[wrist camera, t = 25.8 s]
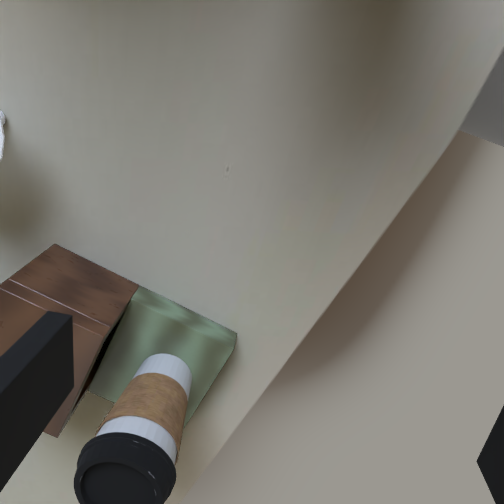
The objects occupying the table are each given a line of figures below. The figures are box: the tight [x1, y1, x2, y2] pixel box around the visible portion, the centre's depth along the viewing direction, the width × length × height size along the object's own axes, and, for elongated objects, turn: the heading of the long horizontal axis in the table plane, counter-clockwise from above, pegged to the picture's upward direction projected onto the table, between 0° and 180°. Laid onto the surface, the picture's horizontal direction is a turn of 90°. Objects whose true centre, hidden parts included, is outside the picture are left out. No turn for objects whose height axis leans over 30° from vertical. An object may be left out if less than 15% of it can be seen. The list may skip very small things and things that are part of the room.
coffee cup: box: [74, 354, 192, 504], centre depth 42 cm, size 8×8×15 cm
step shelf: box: [0, 244, 237, 438], centre depth 46 cm, size 22×14×10 cm, turn 62°
